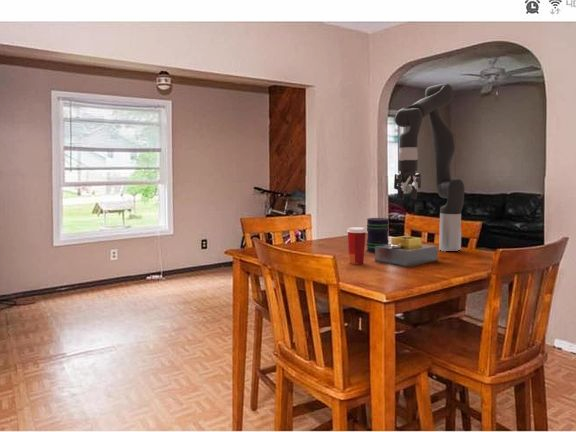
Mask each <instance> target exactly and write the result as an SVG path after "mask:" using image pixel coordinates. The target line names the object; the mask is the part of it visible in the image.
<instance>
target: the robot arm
mask: <svg viewBox="0 0 576 432" xmlns="http://www.w3.org/2000/svg"><path fill="white" fill-rule="evenodd" d="M454 96H455V95H454V90H453V87H452V85H451V84H449V83H440V84H436V85H431V86H428V87H427V88H426V89H425V92H424V98H421V99H419V100H417V101H416V102H414V103H413V104H410V105H408V106H405V107H403V108H400V109H399V110H398V111H396V113H395V116H394V121H395V124H396V125H397V126H398V127H401V128H408V127H409V128H408V131H406V132H403V133H401V134H400V135H399V141H398V143H399V145H398V146H399V147H398V148H399V150H398V161H397V162H398V164H397V165H398V166H397V167H398V172H399V173H395V174H394V179H393V180H394V182H393V188H394V190H396V191H397V200H398V201H404V197H405V193H404V192H405V191H404V190H405V187H407V186H409V187H410V188H411V191H410V192H411V193H410V195H411V196H410V197H411V200H417V198H418V190H419V189H421V188H422V187H421V186H422V185H421V184H422V183H421V182H422V181H421V180H422V179H421V177H422V176H421V173H416V172H417V171H418V167H419V166H418V165H419V164H418V162H419V161H418V160H419V159H418V158H419V151H418V138H419V133H420V129H421V127H422V124H423V123H422V122H423V119H424V118H425V117H426V116H427V115H428V117H429V123H430V132H431V139H432V147H433V148H432V149H433V154H434V162H435V163H434V164H435V175H436V176H435V179H436V181H435V182H436V192H437V194H438V195H439V197H440V198H442V199H447V201H446V204H445V205H443V206H440V207H439V209H440V210H439V242H438V243H439V244H438V250H439V251H440V250H441V252H446V251H458V250H460V249H461V250H462V210H463V208H464V203H465V202H464V201H465V184H464V182H463V181H462V179H460V178H454V177H453V178H451V172H450V167H451V162H452V159H453V157H454V154H455V151H456V147H455V146H456V145H455V144H456V143H455V138H454V137H455V136H454V133H453V131H452V130H451V128H450V126H448V125H447V123H446V122H445V121H444V120H443V119H442V116H441V114H440V111H439V108H441V107H443V106H446V105H448V104H450V103H452V102H453V99H454ZM461 250H460V251H461ZM458 252H459V251H458Z"/></svg>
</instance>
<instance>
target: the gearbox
mask: <svg viewBox="0 0 576 432" xmlns="http://www.w3.org/2000/svg"><path fill="white" fill-rule="evenodd" d="M403 236H404V235H402V236H396V237H391V240H390V242H391V244H390V243H388V245H382V246H375V253H374V261H375V262H379V263H383V264H384V263H385V264H389V265H394V266H399V267H403V268H404V267H405V268H409V267H413V266H419V265H422V264H423V265H424V264H428V263H433V262H437V261H438V252H439V251H438V250H439V245H430V244H424V243H423V238H422V237H417V236H408V235H405V236H406V239H403ZM407 239H408V240H407Z"/></svg>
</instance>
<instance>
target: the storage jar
mask: <svg viewBox="0 0 576 432" xmlns="http://www.w3.org/2000/svg"><path fill="white" fill-rule="evenodd" d="M366 221H367V222H366V223H367V224H366V232H367V237H366V238H367V239H366V252H367V253H372V254H375V246H382V245H388V244H389V239H388V238H389V230H390V229H389V226H390V225H389V224H390V223H389V222H390V221H389V218H387V217H386V218H384V217H369V218H367V219H366Z"/></svg>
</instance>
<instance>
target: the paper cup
mask: <svg viewBox="0 0 576 432" xmlns="http://www.w3.org/2000/svg"><path fill="white" fill-rule="evenodd" d="M346 232H347V243H348V246H347V248H348V262H349V264H351V265H363V264H364V259H365V247H366V246H365V245H366V233H367V229H366V228H365V227H357V226H356V227H355V226H354V227H348V228H347V230H346Z"/></svg>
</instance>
